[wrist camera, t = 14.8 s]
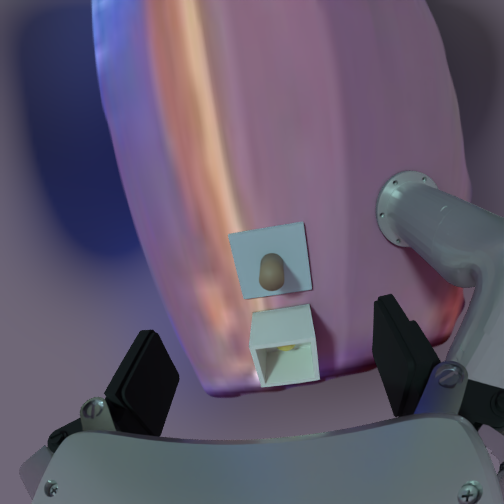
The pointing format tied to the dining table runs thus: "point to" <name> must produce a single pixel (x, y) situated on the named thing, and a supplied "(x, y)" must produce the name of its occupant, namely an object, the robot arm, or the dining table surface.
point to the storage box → (284, 346)
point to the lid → (271, 260)
